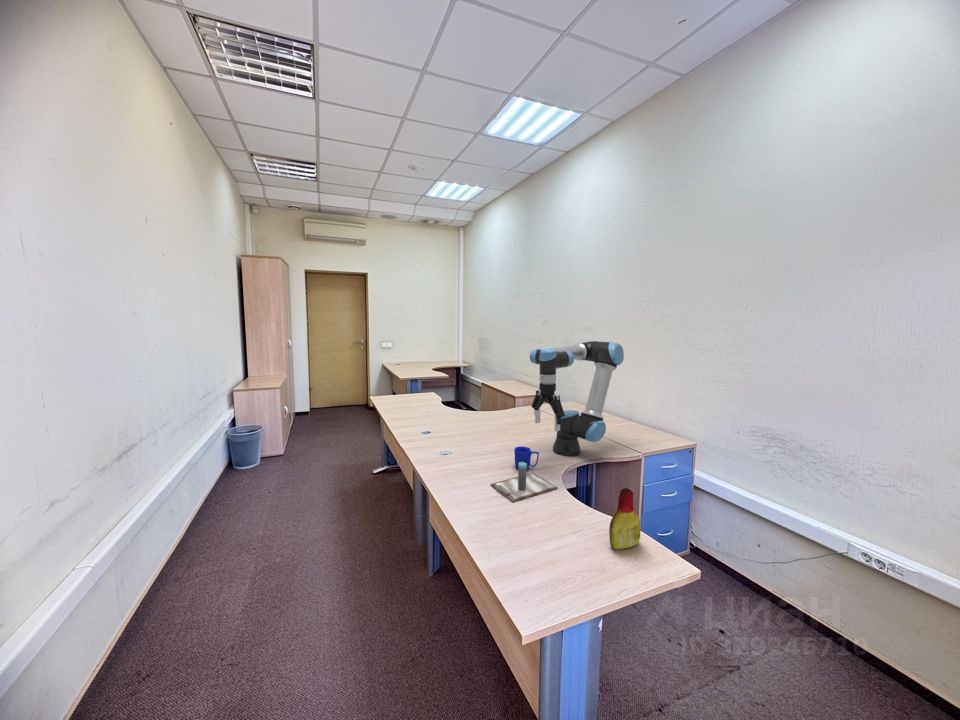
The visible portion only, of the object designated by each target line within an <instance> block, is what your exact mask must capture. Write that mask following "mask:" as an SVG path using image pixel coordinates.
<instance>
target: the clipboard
mask: <svg viewBox="0 0 960 720" xmlns="http://www.w3.org/2000/svg"><path fill="white" fill-rule="evenodd" d="M489 485H490V487H491V488H493V489H494V490H495V491H497V492H498V493H499V494H500V495H502V496H504V498H506V499H507V500H508V501H510V502H511V503H512V504H513V503H516V502H517V503H518V502H520V501H524V500H526V499H530V498H533V497H537V496H539V495H542V494H546V493H550V492H552V491H555V490H558V487H557V486H556V485H554V484H552V483H550V482H549V481H548V480H545V479H544V478H542V477H541V476H538V475H537V474H536V473H533V472H531V473H527V474H526V493H519V492H518V476H516V477H512V478H508V479H505V480H504V479H503V480H501V481H497V482H493V483H490V484H489Z"/></svg>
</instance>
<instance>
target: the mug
mask: <svg viewBox="0 0 960 720" xmlns="http://www.w3.org/2000/svg"><path fill="white" fill-rule="evenodd" d="M513 451H514V467H515V469H516V470H518V463H519V462H525V463H527V470H529V469H530V467H531V468H534V467H536V466H537V465H538V462H539V457H540V456H539V455H540V453H539V451H532V450H531V448H530V447H527V446H516V447H515V448H514V450H513ZM532 454H536V455H537V456H536V461H535V464H531V459H532V458H531V457H532Z"/></svg>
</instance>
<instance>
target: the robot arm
mask: <svg viewBox="0 0 960 720" xmlns="http://www.w3.org/2000/svg"><path fill="white" fill-rule="evenodd" d="M624 357H625V354H624V349H623V347H622V345H621V344H620V343H618V342H613V341H597V340H593V341H591V340H590V341H586V342H585V341H584V342H579V343H575V344H574V345H570V346H561V347H553V348H544V349H540V348H535V349H532V350H531V351H530V353H529V360H530V362H531V363H532V364H535V365H539V386H538V390H535V395H534V399H533V401H532V404H531V406H530V407H531V408H532V409H533V410H534V423H535V424H540V423H541V407H542V406H543V404H544V403H546V404H548V405H549V406H550V407H551V410H552V411H553V413H554V415H555V416H554V432H556V437H555V440H554V443H553V446H552V451H553V452H554V453H555V454H557V455H560V456H565V457H573V456H575V457H576V456H578V455H580V454H581V447H580V442H579V439H582V440H585V441H587V442H593V443H596V442H599V441H600V440H602V438H603V437H604V436H605V433H606V430H607V425H606V422H605V421H604V416H603V409H604V406H605V402H606V399H607V395H608V390H609V385H610V383H611V378H612V375H613V372H614V371H615V370H617V367H618V366H620V365H622V363H623V362H624ZM575 360H577V361H586V362H587V361H589V362H593V364H594V367H595V371H594V375H593V378H592V381H591V386H590V390H589V393H588V398H587V401H586V406H585V409H584V410H583V411H581V413H580V412H579V411H578V410H572V409H567V410H564V409H563V408H564V407H563V405H562V402H561V396H560V394H558V395H557V394H555V392H556V390H557V383H556V382H557V369H561V368H567V367H570V366H572V365H573V364H574V361H575Z"/></svg>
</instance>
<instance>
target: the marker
mask: <svg viewBox="0 0 960 720" xmlns="http://www.w3.org/2000/svg"><path fill="white" fill-rule="evenodd" d="M517 470H518V471H517V477H518V492H519V493H526V475H527V474H528V473H527V463H525V462H519V463H518V469H517Z"/></svg>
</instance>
